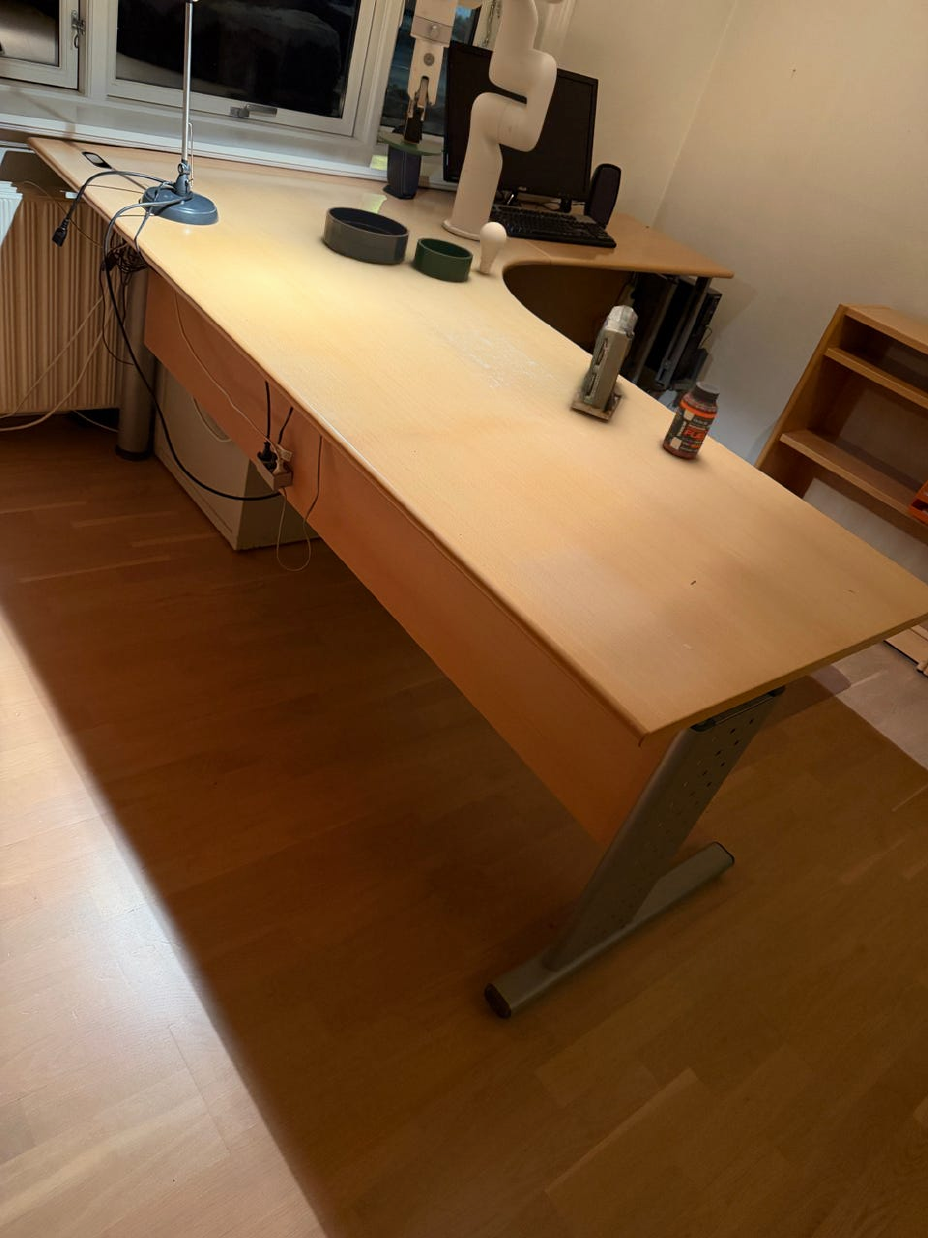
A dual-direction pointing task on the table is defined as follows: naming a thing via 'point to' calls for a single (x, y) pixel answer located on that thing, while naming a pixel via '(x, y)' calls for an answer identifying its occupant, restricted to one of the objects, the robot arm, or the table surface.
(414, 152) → the tin lid
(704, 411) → the supplement bottle
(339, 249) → the bowl
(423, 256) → the tin
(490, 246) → the lightbulb
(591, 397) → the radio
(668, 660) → the table surface
